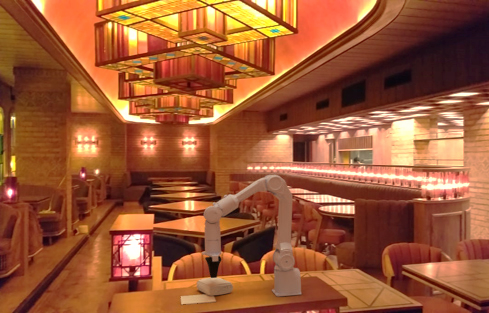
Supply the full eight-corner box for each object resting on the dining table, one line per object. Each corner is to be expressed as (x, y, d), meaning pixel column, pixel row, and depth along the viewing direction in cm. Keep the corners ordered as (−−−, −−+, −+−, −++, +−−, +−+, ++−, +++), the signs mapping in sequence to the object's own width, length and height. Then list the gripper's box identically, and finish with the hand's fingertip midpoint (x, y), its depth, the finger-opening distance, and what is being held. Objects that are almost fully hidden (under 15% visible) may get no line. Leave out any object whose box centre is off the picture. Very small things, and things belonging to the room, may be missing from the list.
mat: (213, 294, 153) (212, 293, 153) (215, 301, 145) (215, 301, 145) (180, 297, 151) (180, 296, 151) (181, 304, 142) (181, 304, 142)
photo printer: (233, 293, 155) (217, 286, 165) (233, 281, 155) (217, 275, 165) (209, 297, 149) (194, 289, 159) (209, 285, 149) (194, 278, 160)
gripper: (200, 237, 156) (200, 273, 156) (203, 243, 142) (204, 283, 141) (218, 236, 157) (219, 272, 157) (223, 242, 143) (224, 281, 143)
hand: (213, 277), depth 149 cm, fingers closed
